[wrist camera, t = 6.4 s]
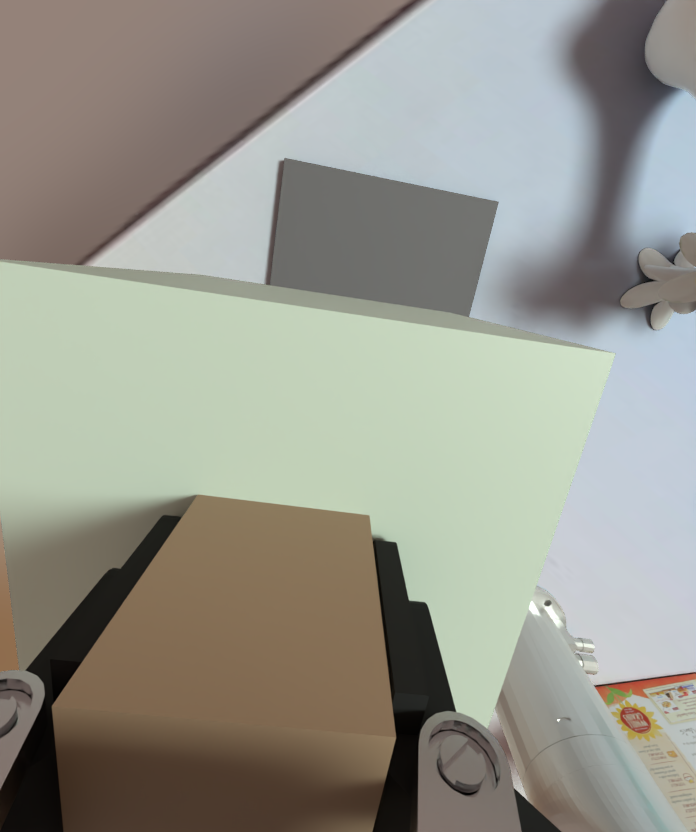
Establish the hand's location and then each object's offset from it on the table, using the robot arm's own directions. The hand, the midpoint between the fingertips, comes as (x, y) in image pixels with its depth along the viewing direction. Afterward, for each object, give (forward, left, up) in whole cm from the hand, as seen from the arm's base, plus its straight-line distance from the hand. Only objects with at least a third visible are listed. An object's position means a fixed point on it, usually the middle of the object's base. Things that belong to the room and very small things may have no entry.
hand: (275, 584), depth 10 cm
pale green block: (0, 0, -14) cm, 14 cm away
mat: (-3, -7, -30) cm, 31 cm away
